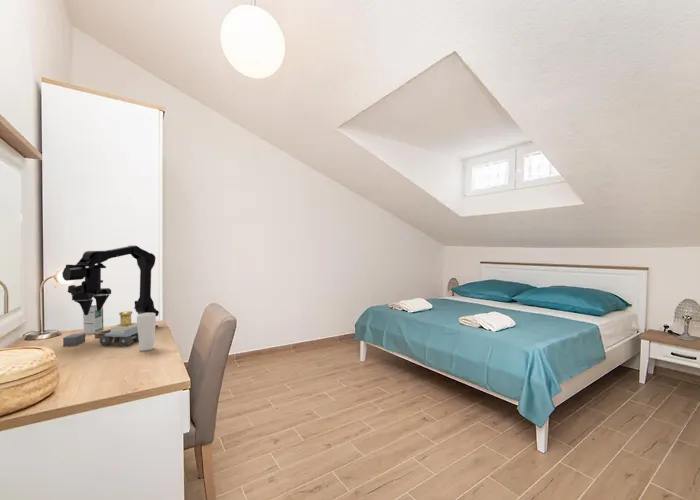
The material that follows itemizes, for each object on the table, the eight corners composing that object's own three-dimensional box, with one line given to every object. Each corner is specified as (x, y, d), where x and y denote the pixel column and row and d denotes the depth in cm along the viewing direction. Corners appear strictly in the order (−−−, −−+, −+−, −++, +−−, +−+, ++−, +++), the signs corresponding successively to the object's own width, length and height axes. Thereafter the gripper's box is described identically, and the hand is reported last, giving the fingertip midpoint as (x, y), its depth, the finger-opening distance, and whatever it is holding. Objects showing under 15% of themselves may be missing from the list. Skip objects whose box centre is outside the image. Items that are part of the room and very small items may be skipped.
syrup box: (94, 333, 159) (94, 304, 159) (82, 333, 159) (82, 304, 159) (103, 330, 165) (103, 302, 165) (92, 330, 165) (92, 302, 165)
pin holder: (108, 333, 161) (108, 329, 160) (124, 333, 160) (124, 329, 160) (95, 337, 153) (95, 333, 152) (111, 338, 152) (111, 334, 152)
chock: (73, 342, 146) (73, 333, 146) (85, 341, 147) (85, 333, 147) (63, 346, 140) (63, 337, 140) (75, 346, 141) (75, 337, 141)
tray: (124, 328, 151) (124, 322, 151) (140, 328, 150) (140, 322, 150) (110, 332, 143) (110, 326, 143) (127, 333, 142) (127, 327, 142)
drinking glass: (133, 350, 136) (133, 314, 135) (149, 345, 142) (149, 311, 141) (142, 353, 133) (142, 316, 132) (159, 348, 139) (159, 313, 138)
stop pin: (124, 327, 149) (124, 311, 149) (134, 328, 149) (134, 311, 149) (116, 330, 145) (116, 313, 144) (126, 331, 144) (126, 313, 144)
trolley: (116, 338, 151) (116, 323, 151) (144, 339, 150) (144, 324, 150) (98, 345, 141) (98, 329, 141) (127, 346, 140) (127, 330, 140)
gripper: (86, 276, 154) (85, 309, 155) (57, 280, 136) (57, 317, 136) (111, 276, 156) (111, 308, 156) (87, 280, 138) (87, 317, 138)
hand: (92, 312), depth 147 cm, fingers open, 9 cm apart
